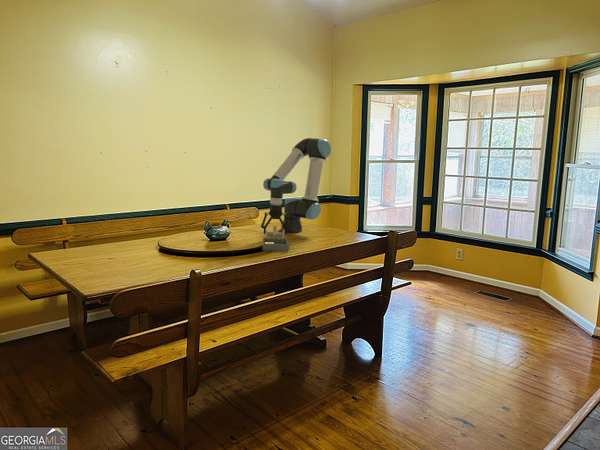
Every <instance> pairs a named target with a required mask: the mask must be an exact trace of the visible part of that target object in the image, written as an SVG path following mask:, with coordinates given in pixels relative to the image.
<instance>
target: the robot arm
mask: <svg viewBox="0 0 600 450" xmlns="http://www.w3.org/2000/svg"><path fill="white" fill-rule="evenodd" d="M331 153H332V146H331V144H330V142H329V141H328V140H327V139H324V138H311V137H307V138H304V139H302V140H300V141H299V142H298V143H296V144H295V145H294V146H293V148H292V149H291V153H289V155H288V156H287V157H286V158H285V160H284V161H283V163H282V164H280V166H279V167H278V168H277V169H276V171H275V172H274V173H273V174H272V176H271V177H270V178H266V179H264V180H263V183H262V185H263V188H264V189H265V190H266V191H270V199H269V203H270V205H269V212H266V211H265V212H264V217H263V219H262V222H261V225H260V228H261V229H263V234H264V235H265V237H264V238H268V237H267V236H268V234H267V231H268V228H267V227H268V226H269V224H271V223H270V222H271V221H272V220H279V221H280V224H281V225H280V231H282V233H283V236H282V238H281V239H285V235H287V233H292V234H293V233H295V234H296V233H301V232H303V224H302V221H301V219H306V220H313V221H314V220H316V219H317V218H318V217H320V214H321V211H322V207H321V204H320V203H319V202H320V201H319V198H318V195H319V188H320V182H321V176H322V171H323V164H324V162H326V159H327V158H329V156H330V155H331ZM307 156H308V159H309V160H310V161H309V166H308V172H307V173H308V174H307V179H306V186H305V190H304V195H303V196H302V197H287V198H285V200H284V203H283V196H284V195H287V194H293V193H296V190H297V188H298V187H297V184H296V183H295V181H290V180H289V181H285V180H286V178H287V177H288V176H289V174H290V173H291V172H292V171H293V169H294V168H295V167H296V166H297V164H298V163H299V162H300V160H303V159H304V158H305V157H307ZM283 204H284V205H283ZM283 207H284V209H283ZM283 211H284V212H283ZM268 215H269V216H270V217H269V218H268V220H267V217H268ZM282 216H283V219H282ZM266 221H267V222H266Z"/></svg>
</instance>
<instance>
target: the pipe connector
mask: <svg viewBox="0 0 600 450" xmlns="http://www.w3.org/2000/svg"><path fill="white" fill-rule="evenodd" d="M267 235H271V236H272V238H277V236H282V237H283V232H280V231H279V232H278V230H277V225H273V229H272V231H268V230H267Z"/></svg>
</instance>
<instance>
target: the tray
mask: <svg viewBox="0 0 600 450" xmlns="http://www.w3.org/2000/svg"><path fill="white" fill-rule="evenodd" d="M265 242H274V243H275V244H265ZM262 243H263V247H262V251H263V252H284V253H286V252H285V251H289V250H290V249H289V248H290V244H289V239H288V238H284V239H282V238H281V237H280V238H279V237H276V238H273V237H271V238H270V237H267V238H265V237H262Z"/></svg>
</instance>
